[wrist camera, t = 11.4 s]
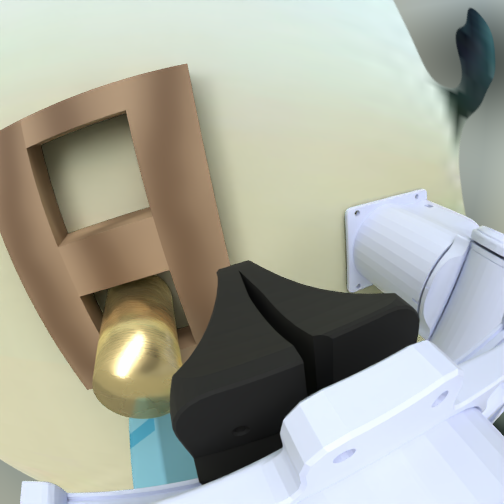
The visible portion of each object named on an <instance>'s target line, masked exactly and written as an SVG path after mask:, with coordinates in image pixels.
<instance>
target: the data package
mask: <svg viewBox="0 0 504 504" xmlns="http://www.w3.org/2000/svg"><path fill="white" fill-rule="evenodd" d="M129 433H130V451H131V465H132V476H133V486H134V489H138V488H145V487H152V486H159V485H165V484H171V483H176V482H181V481H186V480H191V479H196V478H198V475H197V471H196V467H195V463H194V458H193V457H192V456H191V454H190V453H189V452H188V451H187V450H186V448H185V447H184V446H183V445H182V443H181V442H180V441H179V440H178V438H177V437H176V435H175V433H174V431H173V429H172V423H171V416H170V413H168V414H166V415H164V416H160V417H156V418H150V419H137V418H130V417H129Z"/></svg>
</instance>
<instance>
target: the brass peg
mask: <svg viewBox="0 0 504 504" xmlns="http://www.w3.org/2000/svg"><path fill="white" fill-rule="evenodd" d="M181 366H182V360H181V354H180V348H179V342H178V335H177V329H176V322H175V316H174V308H173V301H172V295H171V292H170V289H169V287H168V286H167V284H166V283H165V282H164V281H163V280H162V279H161V278H159V277H158V276H156V275H151V276H148V277H144V278H141V279H138V280H134V281H131V282H127V283H124V284H121V285H117V286H114V287H111V288H109V291H108V294H107V299H106V304H105V308H104V313H103V318H102V324H101V329H100V335H99V340H98V346H97V353H96V359H95V366H94V373H93V381H92V386H93V391H94V394H95V395H96V397H97V399H98V400H99V401H100V402H101V403H102V404H103V405H104V406H105V407H106V408H108V409H109V410H111V411H113V412H115V413H117V414H120V415H122V416H126V417H130V418H137V419H150V418H156V417H160V416H164V415H166V414H168V413H170V388H171V381H172V376H173V375H174V374H175V373H176V372H177V371H178V370H179V368H180V367H181Z"/></svg>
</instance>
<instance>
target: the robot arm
mask: <svg viewBox="0 0 504 504" xmlns="http://www.w3.org/2000/svg"><path fill="white" fill-rule="evenodd" d="M415 196H416V197H415ZM356 211H357V214H356V215H355V212H356ZM345 227H346V250H347V289H348V291H350V292H351V293H342V292H335V291H329V290H323V289H318V288H314V287H311V286H307V285H303V284H300V283H297V282H294V281H292V280H289V279H286V278H284V277H281V276H279V275H277V274H275V273H273V272H270V271H268V270H266V269H264V268H262V267H260V266H259V265H257V264H255V263H253V262H251V261H249V260H247V261H244V262H241V263H238V264H235V265H231V266H228V267H225V268H222V269H218V271H217V273H216V274H217V277H218V286H217V294H216V300H215V304H214V308H213V312H212V315H211V318H210V321H209V323H208V326H207V328H206V330H205V332H204V334H203V336H202V338H201V340H200V342H199V344H198V345H197V347H196V348H195V350H194V351H193V353H192V354H191V356H190V357H189V358H188V360H187V361H186V362H185V363H184V364H183V365H182V366H181V367H180V368H179V370H178V371H177V372H176V373H175V374H174V375H173V376H172V381H171V388H170V416H171V423H172V429H173V431H174V433H175V435H176V437H177V438H178V440H179V441H180V442H181V443H182V445H183V446H184V447H185V448H186V450H187V451H188V452H189V453H190V454H191V456H192V457H193V458H194V463H195V467H196V471H197V475H198V478H196V479H191V480H186V481H181V482H176V483H171V484H165V485H159V486H152V487H145V488H138V489H129V490H119V491H107V492H89V493H66V492H65V491H64V490H63V489H62V488H60V487H59V486H57V485H55V484H53V483H50V482H44V481H23V482H22V489H21V500H20V504H504V436H503V435H502V434H501V433H500V432H499V431H498V430H497V429H496V428H495V427H494V426H493V425H492V424H493V422H494V421H495V420H496V419H497V418H498V417H499V416H500V415H501V414H502V413H503V412H504V234H503V233H500V232H498V231H496V230H494V229H491V228H489V227H486V226H481V227H479V226H478V224H477V223H476V222H474V221H473V220H472V219H470V218H468V217H466V216H464V215H462V214H459V213H457V212H455V211H452V210H450V209H448V208H445V207H443V206H440V205H438V204H436V203H433V202H431V201H428V200H427V192H426V190H424V189H419V190H415V191H411V192H407V193H404V194H400V195H396V196H392V197H388V198H384V199H380V200H377V201H373V202H369V203H365V204H361V205H358V206H354V207H350V208H348V209H347V210H346V212H345ZM357 284H358V286H357ZM370 285H375V286H376V287H377V288H378V289H379V290H381V291H382V292H383V294H355V293H353V292H356V291H358V290H361V289H363V288H366V287H368V286H370ZM418 334H419V335H420V336H421V337H422V338H424V339H425V340H424V341H421V342H418V343H416V342H417V337H418Z"/></svg>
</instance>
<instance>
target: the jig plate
mask: <svg viewBox="0 0 504 504" xmlns="http://www.w3.org/2000/svg"><path fill="white" fill-rule="evenodd" d="M126 113H127V118H128V122H129V127H130V131H131V136H132V140H133V144H134V148H135V152H136V156H137V160H138V164H139V168H140V172H141V176H142V180H143V184H144V187H145V191H146V195H147V198H148V202H149V205H150V207H148V208H145V209H142V210H138V211H135V212H132V213H129V214H125V215H122V216H119V217H116V218H113V219H110V220H107V221H104V222H101V223H98V224H95V225H92V226H89V227H86V228H83V229H80V230H77V231H74V232H71V233H67V230H66V227H65V225H64V222H63V219H62V216H61V213H60V210H59V207H58V204H57V201H56V198H55V195H54V192H53V188H52V185H51V182H50V178H49V175H48V171H47V168H46V164H45V160H44V156H43V152H42V148H41V145H42V144H44V143H46V142H49V141H51V140H54V139H56V138H58V137H61V136H63V135H66V134H68V133H71V132H73V131H76V130H79V129H81V128H84V127H87V126H90V125H92V124H95V123H98V122H101V121H104V120H107V119H110V118H113V117H116V116H119V115H122V114H126ZM0 233H1V235H2V238H3V241H4V243H5V246H6V248H7V250H8V253H9V255H10V258H11V260H12V262H13V264H14V267H15V269H16V271H17V273H18V275H19V277H20V280H21V282H22V284H23V286H24V288H25V290H26V292H27V294H28V296H29V298H30V300H31V301H32V303H33V305H34V307H35V309H36V311H37V313H38V314H39V316H40V318H41V320H42V321H43V323H44V325H45V327H46V328H47V330H48V332H49V333H50V335H51V337H52V338H53V340H54V342H55V343H56V345H57V346H58V348H59V349H60V351H61V353H62V354H63V356H64V357H65V359H66V360H67V362H68V363H69V365H70V366H71V368H72V369H73V370H74V372H75V373H76V375H77V376H78V377H79V379H80V380H81V382H82V383H83V384H84V386H85V387H86V388H87V390H88V389H93V386H92V381H93V373H94V366H95V359H96V353H97V346H98V340H99V335H100V329H101V324H102V318H103V314H102V312H101V310H100V307H99V305H98V303H97V301H96V299H95V297H94V295H93V293H94V292H97V291H100V290H104V289H107V288H111V287H114V286H117V285H121V284H124V283H127V282H131V281H134V280H138V279H141V278H144V277H148V276H151V275H155V274H158V273H161V272H165V271H168V270H170V273H171V276H172V279H173V282H174V285H175V288H176V291H177V293H178V296H179V299H180V302H181V305H182V307H183V310H184V313H185V316H186V318H187V321H188V324H189V326H187V327H184V328H180V329H177V335H178V342H179V348H180V354H181V360H182V365H183V364H184V363H185V362H186V361H187V360H188V358H189V357H190V356H191V354H192V353H193V351H194V350H195V348H196V347H197V345H198V344H199V342H200V340H201V338H202V336H203V334H204V332H205V330H206V328H207V326H208V323H209V321H210V318H211V315H212V312H213V308H214V304H215V300H216V294H217V286H218V277H217V274H216V273H217V271H218V269H222V268H225V267H228V266H230V262H229V258H228V253H227V249H226V245H225V240H224V236H223V232H222V227H221V223H220V218H219V214H218V210H217V205H216V201H215V196H214V191H213V187H212V182H211V178H210V173H209V168H208V164H207V159H206V154H205V150H204V145H203V140H202V135H201V131H200V126H199V121H198V116H197V111H196V106H195V101H194V96H193V91H192V86H191V81H190V76H189V70H188V65H187V64H183V65H178V66H173V67H169V68H165V69H160V70H156V71H152V72H148V73H144V74H141V75H137V76H133V77H130V78H126V79H123V80H120V81H116V82H113V83H110V84H107V85H104V86H101V87H98V88H95V89H92V90H89V91H87V92H84V93H81V94H79V95H76V96H73V97H71V98H68V99H66V100H63V101H61V102H58V103H56V104H54V105H51V106H49V107H47V108H45V109H42V110H40V111H38V112H36V113H34V114H32V115H29V116H27V117H25V118H23V119H21V120H19V121H17V122H15V123H13V124H11V125H10V126H8V127H6V128H4V129H2V130H0Z"/></svg>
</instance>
